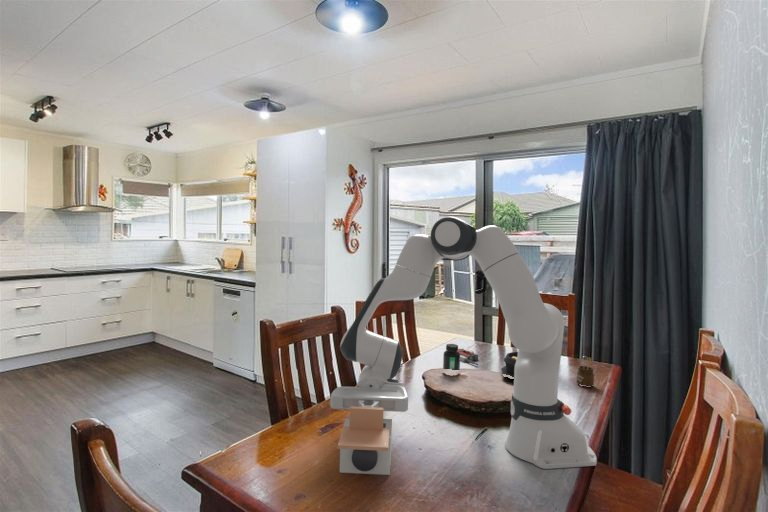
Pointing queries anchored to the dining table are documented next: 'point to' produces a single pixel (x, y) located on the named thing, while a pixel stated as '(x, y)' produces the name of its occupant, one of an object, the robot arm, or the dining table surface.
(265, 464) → the dining table surface
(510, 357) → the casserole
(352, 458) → the camera case
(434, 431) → the dining table surface
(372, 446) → the tan wooden stepped block
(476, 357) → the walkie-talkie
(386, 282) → the robot arm
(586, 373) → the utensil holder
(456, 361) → the supplement bottle
